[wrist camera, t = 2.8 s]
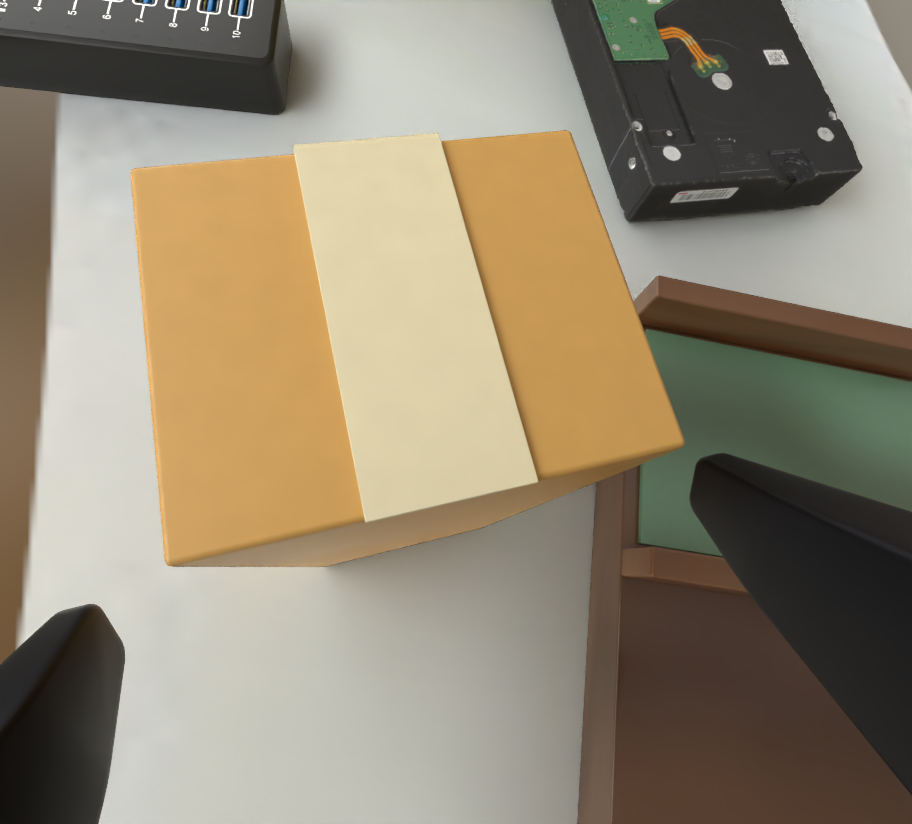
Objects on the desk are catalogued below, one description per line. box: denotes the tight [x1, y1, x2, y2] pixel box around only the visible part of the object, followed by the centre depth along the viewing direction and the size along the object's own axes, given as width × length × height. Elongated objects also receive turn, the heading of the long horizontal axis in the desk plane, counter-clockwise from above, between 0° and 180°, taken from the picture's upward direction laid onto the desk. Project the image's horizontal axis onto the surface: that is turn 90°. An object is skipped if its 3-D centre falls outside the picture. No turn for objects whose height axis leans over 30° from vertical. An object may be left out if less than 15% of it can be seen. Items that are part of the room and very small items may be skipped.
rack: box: [577, 276, 912, 824], centre depth 15 cm, size 26×11×5 cm, turn 172°
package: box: [131, 130, 685, 567], centre depth 12 cm, size 4×6×13 cm
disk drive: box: [551, 0, 862, 222], centre depth 24 cm, size 10×3×15 cm
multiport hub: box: [0, 0, 292, 114], centre depth 20 cm, size 4×14×2 cm, turn 91°
